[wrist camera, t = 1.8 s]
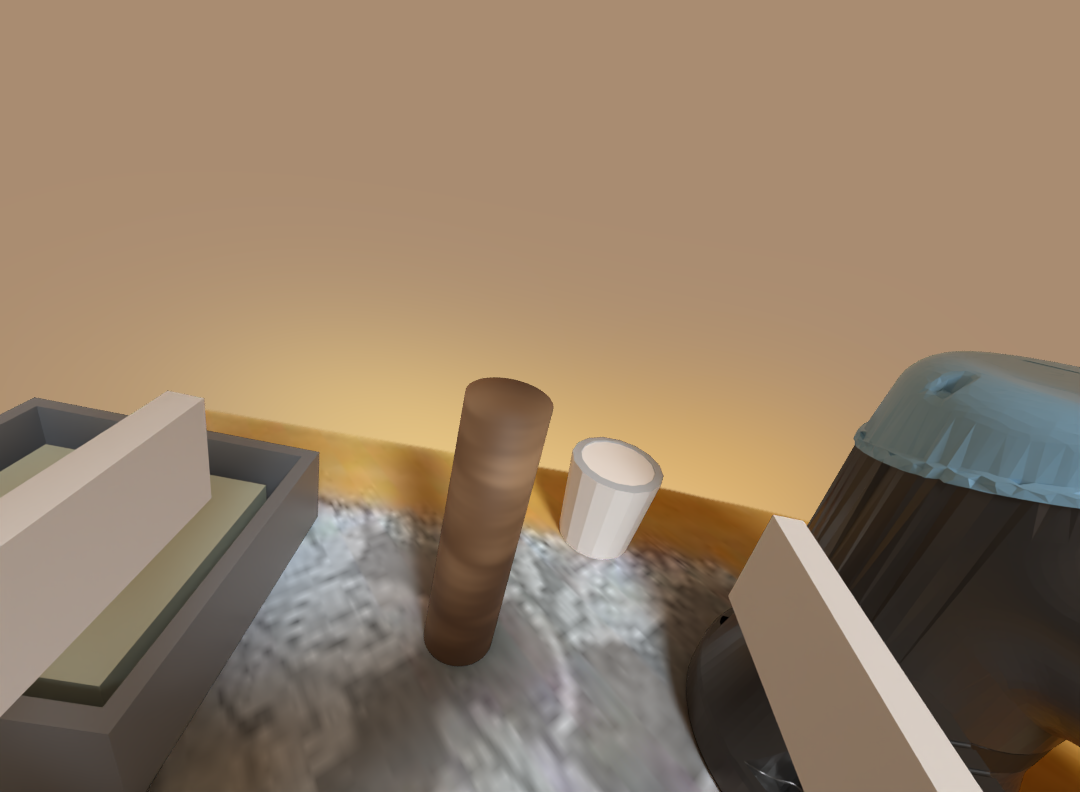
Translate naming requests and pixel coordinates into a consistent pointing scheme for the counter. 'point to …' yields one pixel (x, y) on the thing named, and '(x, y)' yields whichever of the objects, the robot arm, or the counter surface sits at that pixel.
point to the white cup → (607, 496)
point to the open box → (150, 610)
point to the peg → (484, 514)
